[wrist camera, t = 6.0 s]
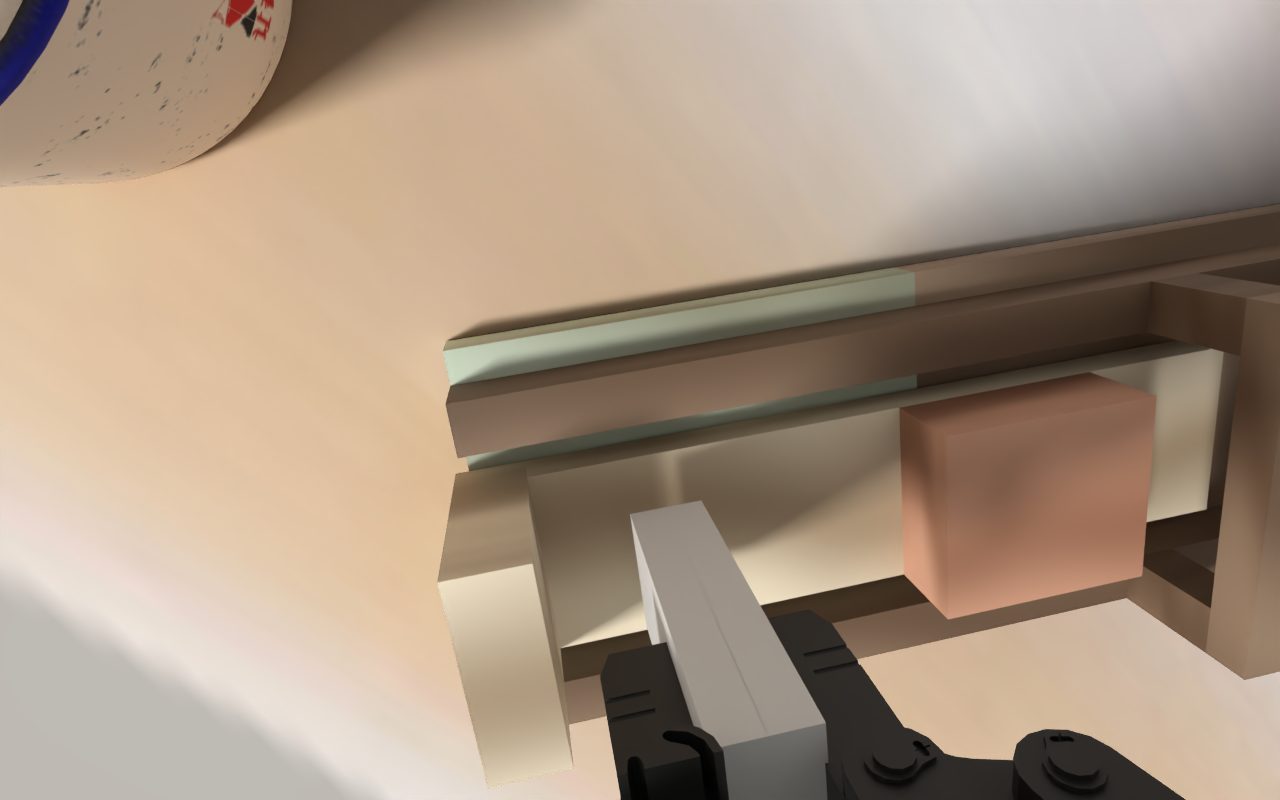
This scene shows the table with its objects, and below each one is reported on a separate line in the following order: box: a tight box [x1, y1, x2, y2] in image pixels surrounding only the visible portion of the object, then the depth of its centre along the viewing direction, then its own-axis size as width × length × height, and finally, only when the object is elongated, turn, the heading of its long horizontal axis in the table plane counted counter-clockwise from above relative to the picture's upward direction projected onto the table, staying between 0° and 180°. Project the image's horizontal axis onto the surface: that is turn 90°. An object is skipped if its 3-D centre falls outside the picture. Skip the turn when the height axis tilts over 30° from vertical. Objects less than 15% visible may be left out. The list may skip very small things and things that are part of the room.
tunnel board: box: [443, 204, 1280, 724], centre depth 18 cm, size 10×29×6 cm, turn 97°
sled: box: [437, 340, 1224, 789], centre depth 17 cm, size 4×19×5 cm, turn 97°
